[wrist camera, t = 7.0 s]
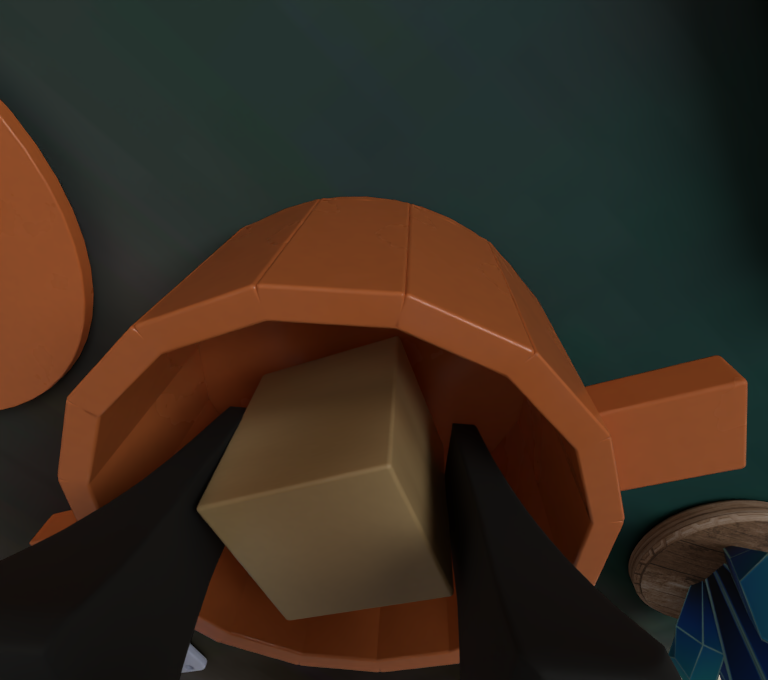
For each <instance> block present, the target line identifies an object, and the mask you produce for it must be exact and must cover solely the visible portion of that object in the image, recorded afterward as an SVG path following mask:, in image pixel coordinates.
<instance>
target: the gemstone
mask: <svg viewBox="0 0 768 680" xmlns="http://www.w3.org/2000/svg"><path fill="white" fill-rule="evenodd" d="M628 566H629V575H630V578H631V580H632V583H633V585H634V587H635V590H636V592H637V594H638V596H639V597H640V598H641V599H642V601H643V602H645V603H646V604H647V605H648V606H650V607H651V608H653V609H655V610H657V611H659V612H661V613H663V614H665V615H668V616H671V617H674V618H677V619H678V621H677V624H676V634H675V637H674V640H673V643H672V646H671V649H670V651H669V654H668V655H669V656H670V658H671V660H672V662H673V663H674V665H675V667H676V669H677V671H678V673H679V675H680V677H681V678H682V680H718V677H719V674H720V677H721V680H768V502H763V501H756V500H726V501H718V502H713V503H707V504H702V505H699V506H696V507H693V508H690V509H686V510H684V511H682V512H679V513H677V514H675V515H673V516H670V517H669V518H667V519H665V520H664V521H662V522H660V523H659V524H657V525H656V526H654V527H653V528H652V529H651V530H650V531H649V532H647V533H646V534H645V535H644V536H643V538H642V539H641V540H640V541H639V543H638V544H637V545H636V547H635V549H634V550H633V552H632V554H631V557H630V560H629V565H628Z"/></svg>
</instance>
